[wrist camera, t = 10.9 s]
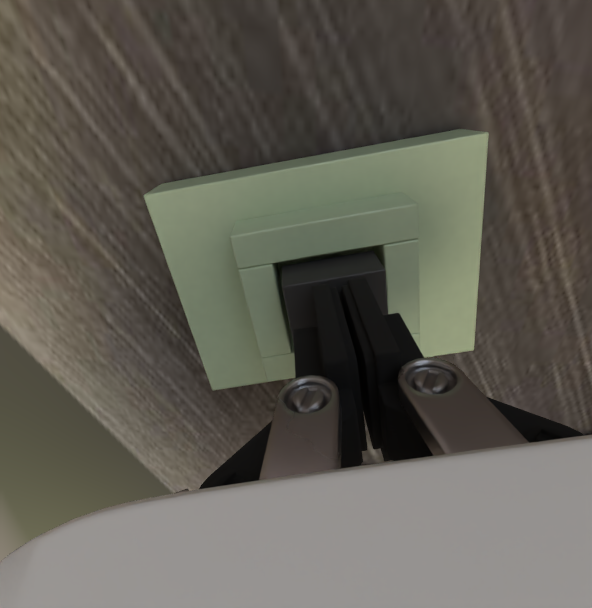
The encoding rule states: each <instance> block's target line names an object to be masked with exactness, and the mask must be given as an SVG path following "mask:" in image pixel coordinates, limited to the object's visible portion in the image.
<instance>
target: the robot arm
mask: <svg viewBox="0 0 592 608" xmlns="http://www.w3.org/2000/svg"><path fill="white" fill-rule="evenodd" d="M341 288H342V297H343V305H344V312H343V308H342V305H341V301H340V298H339V294H338V291H337V288H336V287H331V288H330V286H329V283H327V284H321V285H315V286H312V291H313V298H314V304H315V311H316V317H317V323H318V326H312V327H306V328H299V329H294V330H293V333H294V356H295V378H296V379H294V380H292V381H291V382H289V383H288V384H286V385H285V386H284V387H283V388H282V389H281V391H280V393H279V395H278V398H277V403H276V407H275V411H274V416H273V420H272V421H271V422H270V423H269V424H268V425H267V426H266V427H265V428H263V429H262V430H261V431H260V432H259V433H258V434H257V435H255V436H254V437H253V438H252V439H251V440H250V441H249V442H248V443H246V444H245V445H244V446H243V447H242V448H241V449H240V450H238V451H237V452H236V453H235V454H234V455H233V456H232V457H231V458H229V459H228V460H227V461H226V462H225V463H224V464H223V465H221V466H220V467H219V468H218V469H217V470H216V471H215V472H214V473H212V474H211V475H210V476H209V477H208V478H207V479H206V480H205V482H204V483H203V484H202V485H201V487H200V488H199V489H198V490H192V491H189V490H188V489H185V490H182V491H179V492H176V493H174V494H169V495H163V496H158V497H152V498H147V499H141V500H136V501H130V502H126V503H123V504H119V505H115V506H111V507H107V508H104V509H100V510H97V511H94V512H92V513H89V514H86V515H83V516H80V517H78V518H75V519H72V520H70V521H68V522H66V523H64V524H62V525H59V526H57V527H55V528H53V529H51V530H49V531H47V532H45V533H43V534H41V535H39V536H37V537H36V538H34V539H32V540H30V541H29V542H27V543H25V544H24V545H22V546H21V547H19V548H18V549H16V550H15V551H13V552H12V553H10V554H9V555H8V556H7V557H5V558H4V559H3V560H2V561H1V562H0V608H592V435H583V434H582V433H580V432H578V431H576V430H574V429H572V428H570V427H568V426H565V425H562V424H559V423H557V422H554V421H551V420H548V419H546V418H543V417H540V416H537V415H535V414H532V413H529V412H526V411H524V410H521V409H518V408H515V407H513V406H510V405H507V404H504V403H502V402H499V401H496V400H493V399H491V398H488V397H486V396H485V395H484V394H483V393H482V392H481V391H480V390H479V389H478V388H477V387H476V386H475V385H474V384H473V383H472V382H471V380H470V379H469V378H468V377H467V376H466V375H465V374H464V373H463V372H462V371H461V370H460V369H459V368H458V367H456V366H455V365H454V364H452V363H449V362H447V361H445V360H441V359H436V358H424V356H423V355H422V353H421V351H420V349H419V347H418V346H417V344H416V342H415V340H414V338H413V337H412V335H411V333H410V331H409V329H408V328H407V326H406V324H405V322H404V321H403V319H402V317H401V315H400V314H399V313H394V314H387V315H383V314H382V312H381V309H380V307H379V305H378V303H377V301H376V299H375V297H374V295H373V293H372V290H371V288H370V286H369V284H368V282H367V280H366V278H365V277H363V278H357V279H351V280H347V285H343V286H341ZM344 313H345V315H344ZM363 412H364V415H365V419H366V423H367V427H368V431H369V435H370V438H371V442H372V446H373V449H380V448H381V451H382V454H383V458H384V461H390V460H393V461H392V462H385V463H378V464H371V465H364V466H359V465H361V463H362V462H363V459H362V451H365V450H367V442H366V433H365V424H364V415H363Z"/></svg>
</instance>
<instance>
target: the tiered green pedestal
mask: <svg viewBox="0 0 592 608" xmlns="http://www.w3.org/2000/svg"><path fill="white" fill-rule="evenodd" d="M487 149H488V132H481V131H473V130H465V129H457V130H452V131H447V132H441V133H436V134H430V135H425V136H419V137H414V138H408V139H403V140H397V141H392V142H387V143H381V144H376V145H370V146H365V147H359V148H354V149H348V150H343V151H338V152H332V153H327V154H321V155H316V156H310V157H305V158H299V159H294V160H288V161H283V162H278V163H272V164H267V165H261V166H256V167H250V168H245V169H239V170H234V171H228V172H223V173H218V174H212V175H207V176H201V177H196V178H190V179H185V180H179V181H174V182H169V183H163V184H161V185H159V186H157V187H156V188H154V189H153V190H151V191H150V192H148V193H146V194H145V195H144V199H145V201H146V204H147V207H148V210H149V213H150V216H151V218H152V221H153V224H154V227H155V230H156V233H157V235H158V238H159V241H160V244H161V247H162V249H163V252H164V255H165V258H166V261H167V264H168V266H169V269H170V272H171V275H172V278H173V281H174V283H175V286H176V289H177V292H178V295H179V298H180V300H181V303H182V306H183V309H184V312H185V314H186V317H187V320H188V323H189V326H190V329H191V331H192V334H193V337H194V340H195V343H196V346H197V348H198V351H199V354H200V357H201V360H202V363H203V365H204V368H205V371H206V374H207V377H208V379H209V382H210V385H211V388H212V390H219V389H226V388H232V387H239V386H245V385H252V384H258V383H264V382H271V381H277V380H284V379H290V378H295V356H294V344H293V339H292V334H291V330H290V325H289V320H288V315H287V310H286V305H285V300H284V296H283V291H282V266H284V265H290V264H295V263H301V262H307V261H313V260H319V259H325V258H331V257H337V256H343V255H348V254H354V253H360V252H366V251H374V253H375V254H376V256H377V257H378V259H379V261H380V262H381V264H382V265H383V267H384V269H385V270H386V287H387V304H388V314H394V313H399V314H400V315H401V317H402V319H403V321H404V322H405V324H406V326H407V328H408V329H409V331H410V333H411V335H412V337H413V338H414V340H415V342H416V344H417V346H418V347H419V349H420V351H421V353H422V355H423V356H424V358H426V357H433V356H439V355H446V354H452V353H459V352H465V351H471V350H474V340H475V325H476V311H477V296H478V281H479V267H480V252H481V237H482V222H483V208H484V193H485V178H486V164H487Z"/></svg>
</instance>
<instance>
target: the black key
mask: <svg viewBox="0 0 592 608" xmlns="http://www.w3.org/2000/svg"><path fill="white" fill-rule="evenodd" d="M363 277H365V278H366V280H367V282H368V284H369V286H370V288H371V290H372V293H373V295H374V297H375V299H376V301H377V303H378V305H379V307H380V309H381V312H382V314H383V315H387V314H388V304H387V287H386V270H385V269H384V267H383V265H382V264H381V262H380V261H379V259H378V257H377V256H376V254H375V253H374V251H366V252H360V253H354V254H348V255H343V256H337V257H331V258H325V259H319V260H313V261H307V262H301V263H295V264H290V265H284V266H282V291H283V296H284V300H285V305H286V310H287V315H288V320H289V325H290V330H291V334H292V339H293V344H294V333H293V330H294V329H299V328H306V327H312V326H318V323H317V317H316V311H315V304H314V298H313V291H312V286H315V285H321V284H327V283H329V286H330V288H331V287H336V288H337V291H338V294H339V298H340V301H341V305H342V308H343V312H344V305H343V297H342V288H341V286H343V285H347V280H351V279H357V278H363ZM344 315H345V313H344Z"/></svg>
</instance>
